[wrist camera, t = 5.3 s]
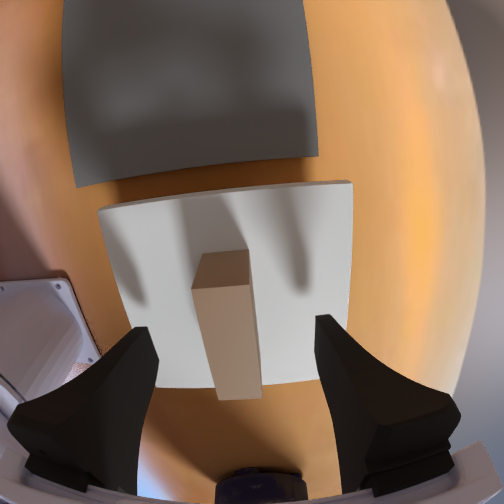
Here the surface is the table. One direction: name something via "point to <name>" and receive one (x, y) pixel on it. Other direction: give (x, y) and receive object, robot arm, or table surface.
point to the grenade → (260, 488)
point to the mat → (184, 85)
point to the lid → (234, 280)
